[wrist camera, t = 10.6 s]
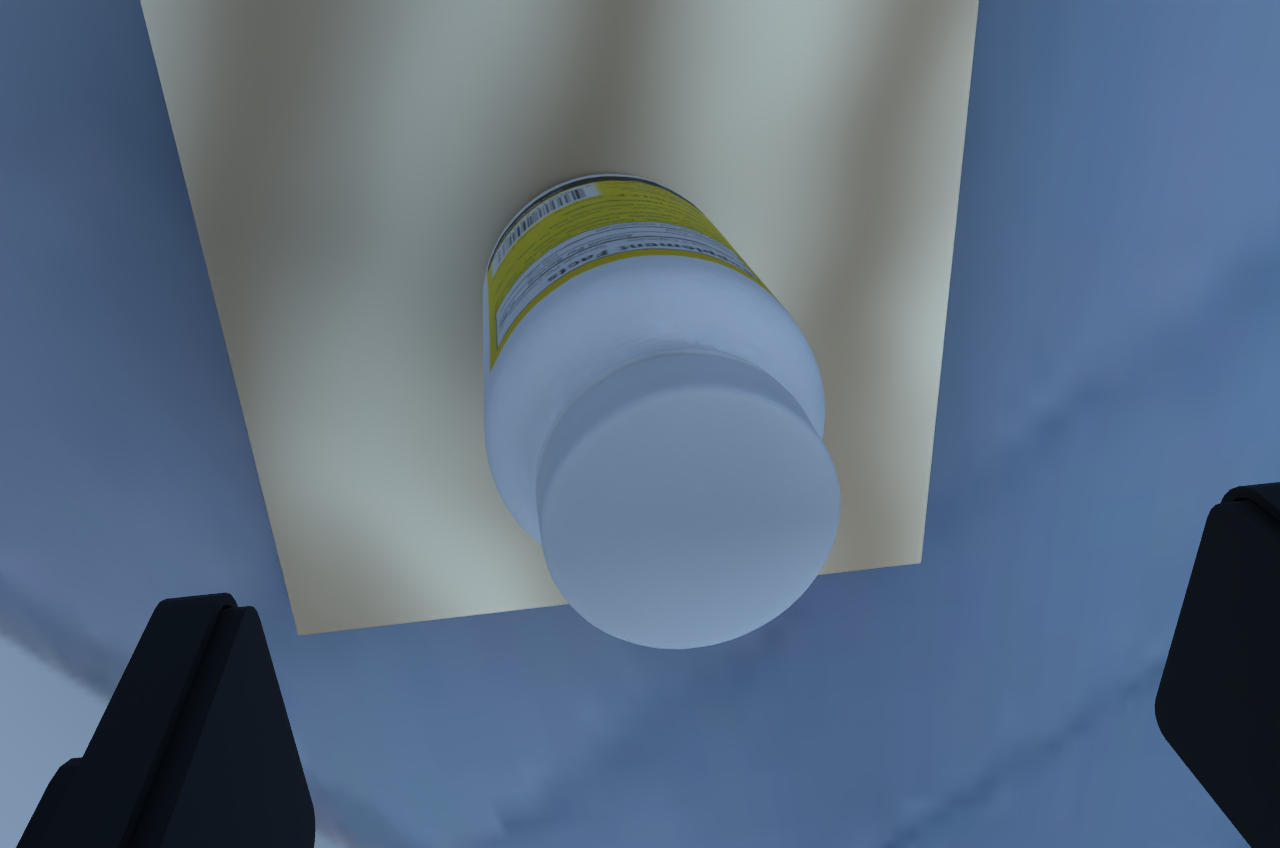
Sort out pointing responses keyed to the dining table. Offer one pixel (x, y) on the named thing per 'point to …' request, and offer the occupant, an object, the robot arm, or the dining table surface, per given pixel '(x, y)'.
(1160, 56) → the dining table surface
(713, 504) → the supplement bottle
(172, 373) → the dining table surface
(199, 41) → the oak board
